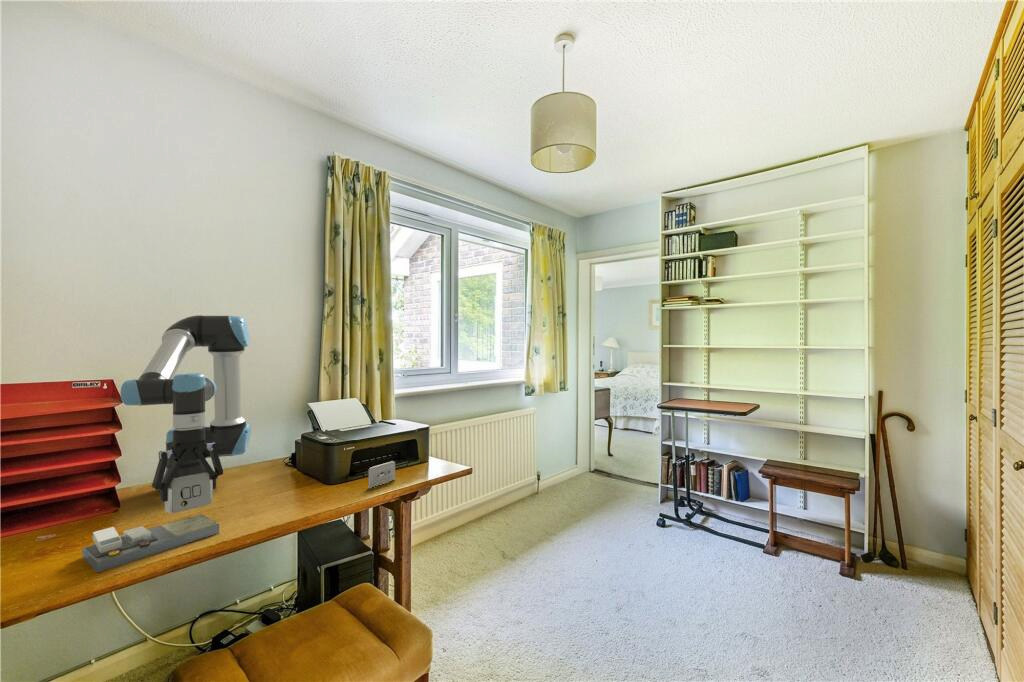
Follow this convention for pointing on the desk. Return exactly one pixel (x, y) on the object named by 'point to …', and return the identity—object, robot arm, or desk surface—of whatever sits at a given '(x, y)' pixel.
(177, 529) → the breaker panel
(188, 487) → the electrical switch
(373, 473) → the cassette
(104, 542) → the block
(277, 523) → the desk surface
